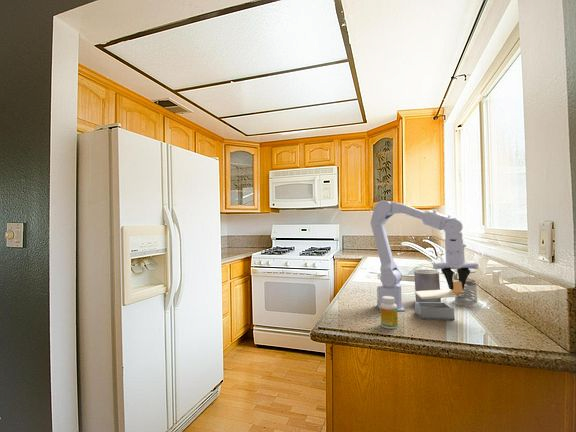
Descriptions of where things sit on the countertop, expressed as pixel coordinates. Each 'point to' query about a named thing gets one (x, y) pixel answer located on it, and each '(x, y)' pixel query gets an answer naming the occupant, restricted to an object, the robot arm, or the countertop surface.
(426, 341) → the countertop surface
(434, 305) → the tub
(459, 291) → the lid
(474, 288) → the french press
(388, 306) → the supplement bottle
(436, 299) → the pillar candle
